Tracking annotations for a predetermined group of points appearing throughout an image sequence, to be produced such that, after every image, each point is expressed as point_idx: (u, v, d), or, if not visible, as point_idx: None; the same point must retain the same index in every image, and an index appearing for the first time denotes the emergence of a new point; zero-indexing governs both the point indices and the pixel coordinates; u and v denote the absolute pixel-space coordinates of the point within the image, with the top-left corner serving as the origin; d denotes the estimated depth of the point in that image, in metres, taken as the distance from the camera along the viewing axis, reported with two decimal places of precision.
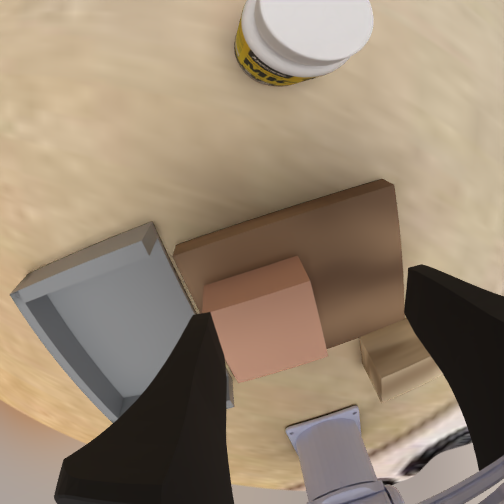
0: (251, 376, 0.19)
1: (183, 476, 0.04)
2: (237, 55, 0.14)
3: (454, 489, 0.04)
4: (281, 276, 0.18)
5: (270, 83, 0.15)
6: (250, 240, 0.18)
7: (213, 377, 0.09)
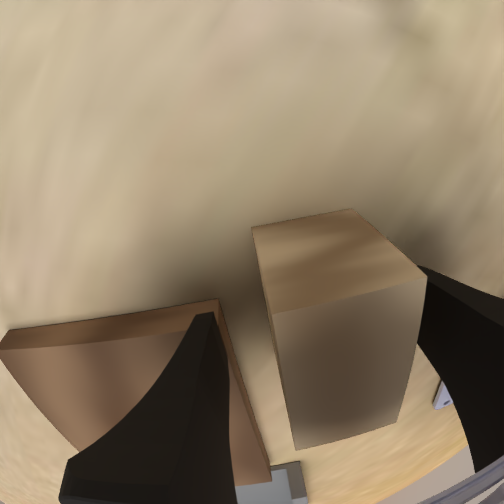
0: None
1: (189, 476, 0.04)
2: None
3: (454, 489, 0.04)
4: None
5: None
6: None
7: (216, 376, 0.09)
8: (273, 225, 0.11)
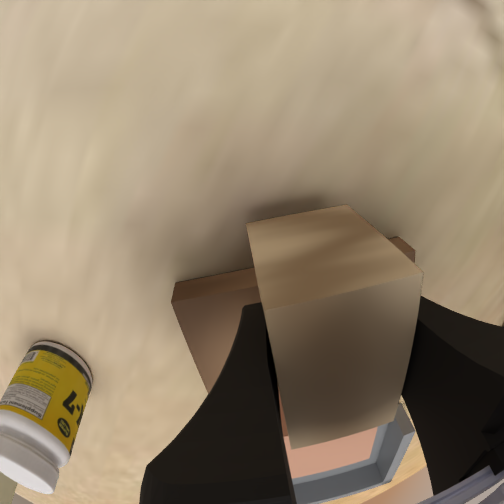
0: (366, 453, 0.15)
1: (286, 464, 0.04)
2: None
3: (454, 489, 0.04)
4: None
5: (87, 395, 0.15)
6: None
7: (272, 367, 0.09)
8: (268, 222, 0.10)
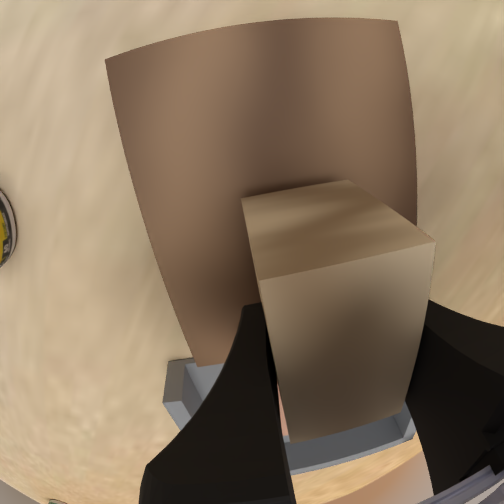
0: None
1: (285, 464, 0.04)
2: None
3: (454, 489, 0.04)
4: None
5: (3, 246, 0.11)
6: (180, 287, 0.13)
7: (272, 367, 0.09)
8: (264, 196, 0.10)
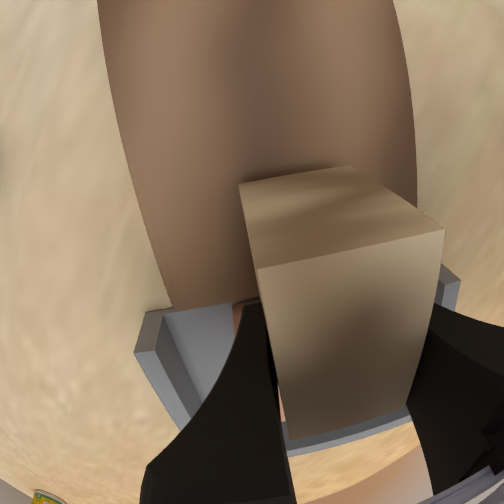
0: None
1: (286, 464, 0.04)
2: None
3: (454, 489, 0.04)
4: None
5: None
6: (155, 207, 0.11)
7: (272, 367, 0.09)
8: (262, 182, 0.09)
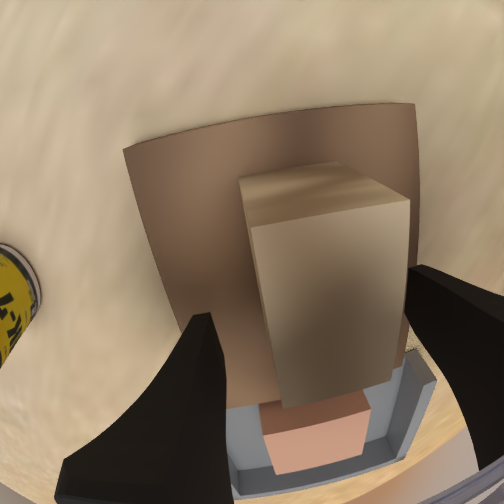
0: (359, 449, 0.17)
1: (183, 476, 0.04)
2: None
3: (454, 489, 0.04)
4: None
5: (30, 310, 0.13)
6: None
7: (213, 377, 0.09)
8: (259, 174, 0.11)
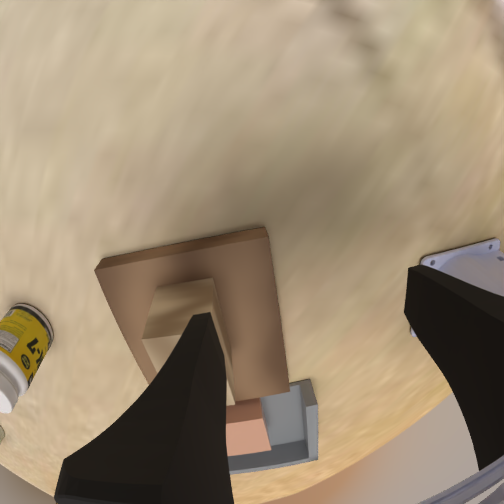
0: (266, 446, 0.25)
1: (183, 476, 0.04)
2: None
3: (454, 489, 0.04)
4: None
5: (48, 345, 0.21)
6: (150, 374, 0.22)
7: (213, 377, 0.09)
8: (166, 287, 0.19)
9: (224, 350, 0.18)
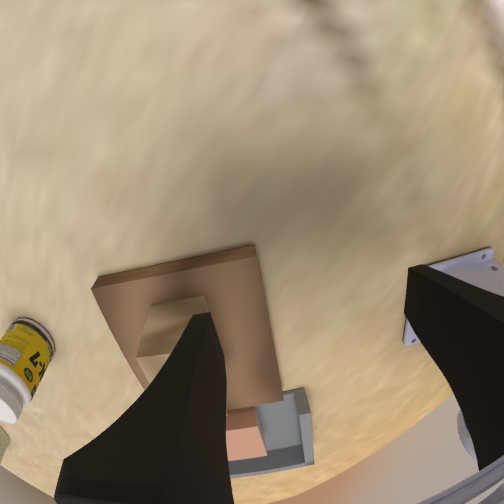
0: (262, 451, 0.26)
1: (183, 476, 0.04)
2: None
3: (454, 489, 0.04)
4: None
5: (49, 358, 0.21)
6: (148, 384, 0.23)
7: (213, 377, 0.09)
8: (160, 305, 0.19)
9: None
